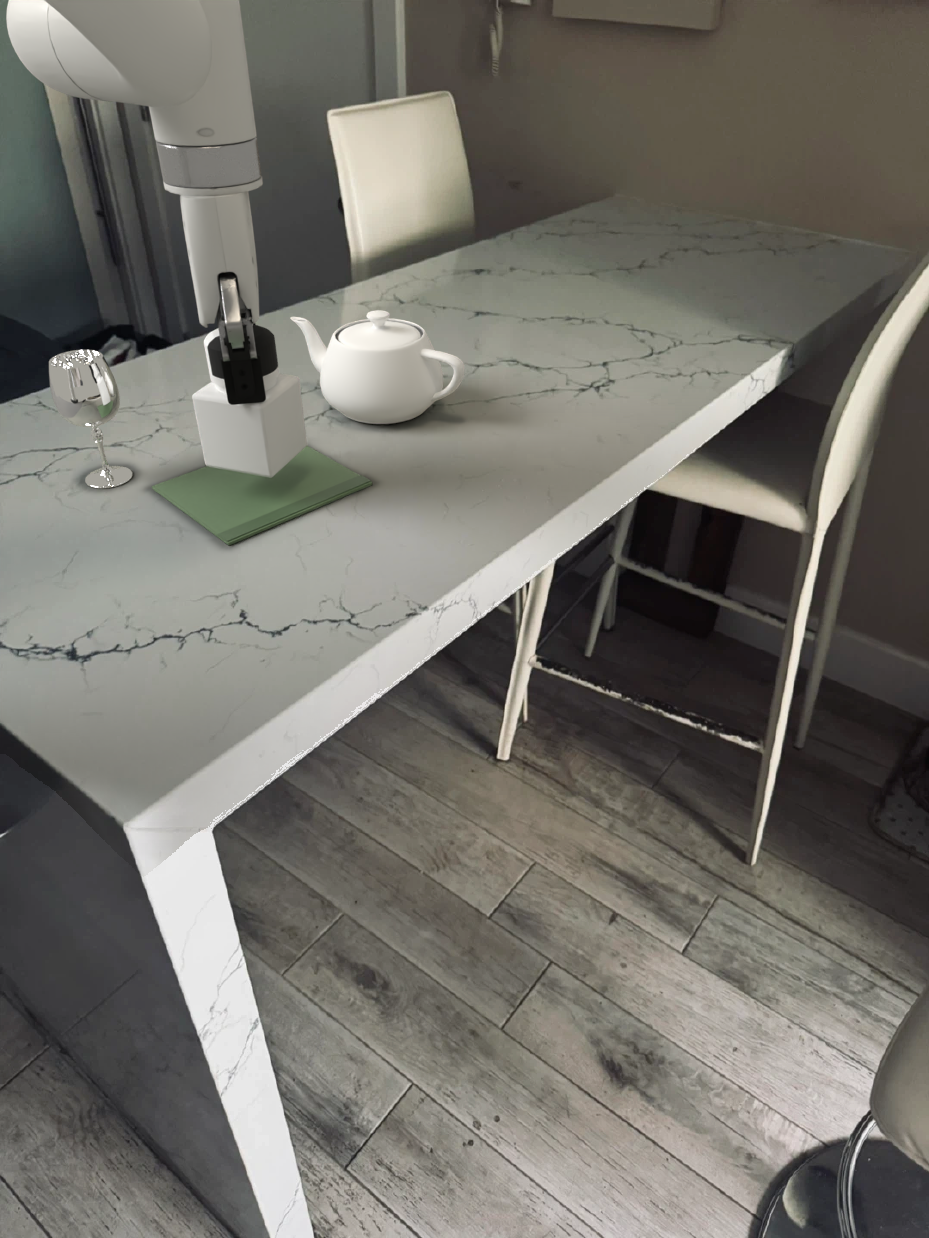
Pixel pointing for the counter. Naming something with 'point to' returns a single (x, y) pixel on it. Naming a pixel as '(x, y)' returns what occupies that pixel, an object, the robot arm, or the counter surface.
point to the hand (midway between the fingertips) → (245, 382)
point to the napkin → (259, 494)
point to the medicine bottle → (250, 415)
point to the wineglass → (88, 404)
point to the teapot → (380, 368)
